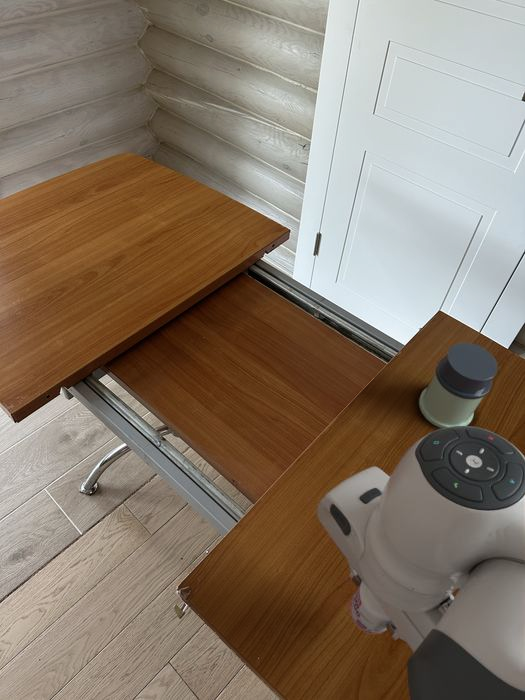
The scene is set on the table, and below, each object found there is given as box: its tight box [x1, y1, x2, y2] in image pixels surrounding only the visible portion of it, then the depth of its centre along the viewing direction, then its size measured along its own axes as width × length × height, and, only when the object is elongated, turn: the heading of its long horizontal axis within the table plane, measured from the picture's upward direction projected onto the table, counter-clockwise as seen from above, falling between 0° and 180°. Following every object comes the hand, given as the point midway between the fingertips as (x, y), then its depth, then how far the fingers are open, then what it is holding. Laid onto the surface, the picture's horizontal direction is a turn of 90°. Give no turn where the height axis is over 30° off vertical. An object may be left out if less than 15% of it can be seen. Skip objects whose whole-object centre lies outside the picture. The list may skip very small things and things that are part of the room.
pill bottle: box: [349, 581, 392, 635], centre depth 55 cm, size 5×5×8 cm
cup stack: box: [418, 342, 499, 429], centre depth 81 cm, size 9×9×12 cm
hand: (376, 603), depth 56 cm, fingers closed on pill bottle, 5 cm apart
